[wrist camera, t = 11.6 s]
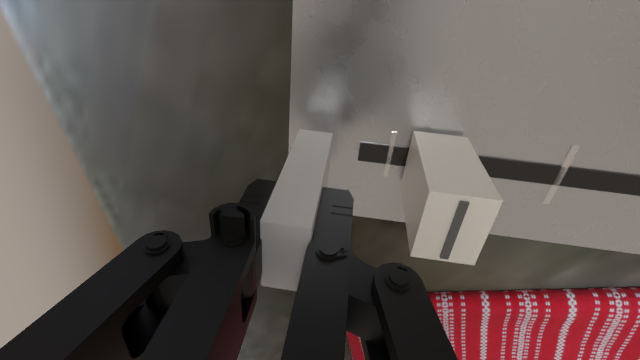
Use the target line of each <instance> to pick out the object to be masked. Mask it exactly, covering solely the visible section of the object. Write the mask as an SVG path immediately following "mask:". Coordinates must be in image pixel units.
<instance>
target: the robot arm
mask: <svg viewBox="0 0 640 360" xmlns="http://www.w3.org/2000/svg"><path fill="white" fill-rule="evenodd" d="M332 137H333V133H327V132H319V131H311V130H303V129H299V132H298V134H297V136H296V139H295V141H294V143H293V146H292V148H291V150H290V153H289V155H288V157H287V160H286V162H285V164H284V166H283V169H282V171H281V173H280V176H279V178H278V180H277V181H269V180H262V179H257V180H255V181H254V182H253V183H251V184H250V185H248V187H247V189H246V191H245V192H244V195H243V196H242V198H241V200H240V202H239V203H227V204H223V205H220V206H218V207H216V208H214V209H213V210H212V211H211V212H210V213H209V218H210V227H211V237H210V238H209V239H206V240H201V241H193V242H182V240H181V238H180V236H179V235H177V234H176V233H174V232H171V231H165V230H164V231H155V232H152V233H148V234H146V235H144V236H142V237H141V238H139V239H138V240H136V241H135V242H134V243H133V244H131V245H130V246H129V247H128V248H126V249H125V250H124V251H123V252H121V253H120V254H119V255H118V256H116V257H115V258H114V259H112V260H111V261H110V262H109V263H108V264H106V265H105V266H104V267H102V268H101V269H100V270H99V271H97V272H96V273H95V274H94V275H92V276H91V277H90V278H89V279H87V280H86V281H85V282H84V283H82V284H81V285H80V286H79V287H77V288H76V289H75V290H74V291H72V292H71V293H70V294H69V295H67V296H66V297H65V298H64V299H62V300H61V301H60V302H59V303H57V304H56V305H55V306H53V307H52V308H51V309H50V310H48V311H47V312H46V313H45V314H43V315H42V316H41V317H40V318H38V319H37V320H36V321H35V322H33V323H32V324H31V325H30V326H29V327H27V328H26V329H25V330H24V331H22V332H21V333H20V334H19V335H17V336H16V337H15V338H13V339H12V340H11V341H9V342H8V343H7V344H6V345H4V346H3V347H2V348H1V349H0V360H237V357H238V354H239V351H240V348H241V345H242V342H243V339H244V336H245V333H246V330H247V327H248V324H249V321H250V318H251V315H252V313H253V310H254V307H255V304H256V301H257V286H258V283H259V280H260V278H261V286H265V287H272V288H278V289H285V290H291V291H297V292H296V296H295V300H294V305H293V309H292V313H291V318H290V322H289V327H288V331H287V335H286V340H285V344H284V348H283V353H282V357H281V360H344V352H345V338H346V331H348V332H350V333H352V334H354V335H356V336H358V337H360V338H361V344H362V349H363V353H364V357H365V360H458V359H457V356H456V354H455V352H454V350H453V348H452V345H451V343H450V341H449V339H448V337H447V335H446V332H445V330H444V328H443V326H442V324H441V321H440V319H439V317H438V315H437V313H436V311H435V308H434V306H433V304H432V302H431V300H430V297H429V295H428V293H427V291H426V289H425V287H424V284H423V282H422V280H421V279H420V277H419V276H418V274H417V273H416V272H415V271H413V270H412V269H411V268H409V267H407V266H405V265H402V264H398V263H387V264H383V265H381V266H380V267H378V268H374V267H372V266H369V265H367V264H365V263H363V262H362V261H360V260H359V259H358V258H357V257H356V256H355V255H354V253H353V251H352V249H351V231H352V216H353V203H354V198H353V197H352V195H351V193H350V191H349V190H343V189H335V188H328V187H327V183H328V174H329V165H330V155H331V146H332Z"/></svg>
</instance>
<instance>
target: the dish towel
mask: <svg viewBox="0 0 640 360" xmlns="http://www.w3.org/2000/svg"><path fill="white" fill-rule="evenodd" d="M428 295H429V297H430V300H431V302H432V304H433V306H434V308H435V311H436V313H437V315H438V317H439V319H440V321H441V324H442V326H443V328H444V330H445V332H446V335H447V337H448V339H449V341H450V343H451V345H452V348H453V350H454V352H455V354H456V356H457V359H458V360H640V287H602V288H586V289H567V288H565V289H538V290H536V289H535V290H532V289H531V290H528V289H521V290H504V291H485V290H480V291H456V292H451V291H448V292H446V291H441V292H433V293H428ZM346 335H347V339H348V343H349V347H350V350H351V355H352V359H353V360H365V357H364V353H363V349H362V344H361V338H360V337H358V336H356V335H354V334H352V333H350V332H348V331H346Z"/></svg>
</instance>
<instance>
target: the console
mask: <svg viewBox="0 0 640 360" xmlns="http://www.w3.org/2000/svg"><path fill="white" fill-rule="evenodd" d="M299 129H303V130H311V131H319V132H327V133H333V137H332V146H331V155H330V165H329V174H328V183H327V187H328V188H335V189H343V190H349V191H350V193H351V195H352V197H353V198H354V203H353V216H361V217H368V218H375V219H383V220H390V221H397V222H405V215H404V208H403V200H402V193H401V186H400V185H401V181H402V177H403V173H404V169H405V165H406V160H407V156H408V152H409V148H410V144H411V140H412V135H413V131H420V132H429V133H437V134H446V135H454V136H462V137H467V138H468V139H469V141H470V143H471V145H472V146H473V148H474V150H475V152H476V154H477V155H478V157H479V159H480V161H481V162H482V164H483V166H484V168H485V170H486V171H487V173H488V175H489V177H490V178H491V180H492V182H493V184H494V185H495V187H496V189H497V191H498V193H499V194H500V196H501V198H502V200H503V202H502V205H501V207H500V209H499V211H498V214H497V216H496V218H495V220H494V223H493V225H492V227H491V229H490V232H489V234H493V235H501V236H508V237H515V238H523V239H530V240H537V241H545V242H552V243H559V244H567V245H574V246H582V247H589V248H596V249H604V250H611V251H618V252H626V253H633V254H640V0H293V18H292V51H291V84H290V118H289V151H288V155H289V153H290V150H291V148H292V146H293V143H294V141H295V139H296V136H297V134H298V132H299ZM405 223H406V222H405Z"/></svg>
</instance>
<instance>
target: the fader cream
mask: <svg viewBox="0 0 640 360" xmlns="http://www.w3.org/2000/svg"><path fill="white" fill-rule="evenodd" d="M400 186H401V193H402V200H403V208H404V215H405V222H406V229H407V237H408V244H409V251H410V256H411V257H418V258H425V259H432V260H440V261H447V262H454V263H461V264H468V265H475V263H476V261H477V259H478V256H479V254H480V252H481V250H482V247H483V245H484V243H485V241H486V238H487V236H488V234H489V232H490V229H491V227H492V225H493V223H494V220H495V218H496V216H497V214H498V211H499V209H500V207H501V205H502V202H503V200H502V198H501V196H500V194H499V193H498V191H497V189H496V187H495V185H494V184H493V182H492V180H491V178H490V177H489V175H488V173H487V171H486V170H485V168H484V166H483V164H482V162H481V161H480V159H479V157H478V155H477V154H476V152H475V150H474V148H473V146H472V145H471V143H470V141H469V139H468V138H467V137H462V136H454V135H446V134H437V133H429V132H420V131H413V135H412V140H411V144H410V148H409V152H408V156H407V160H406V165H405V169H404V173H403V177H402V181H401V185H400Z"/></svg>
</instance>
